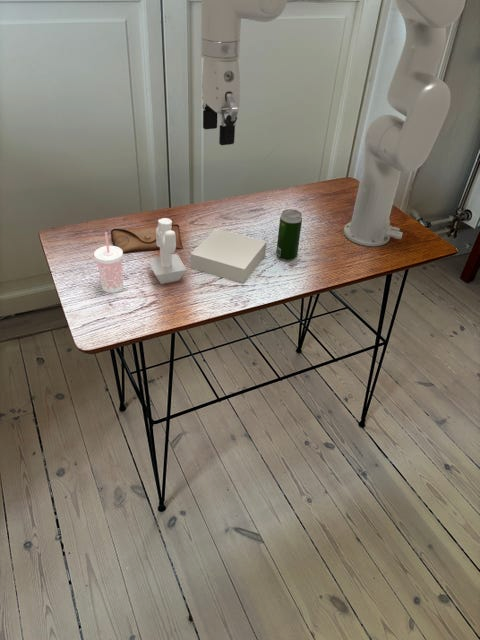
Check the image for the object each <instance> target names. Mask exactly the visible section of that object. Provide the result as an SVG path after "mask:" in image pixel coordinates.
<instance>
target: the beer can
mask: <svg viewBox="0 0 480 640" xmlns="http://www.w3.org/2000/svg"><path fill="white" fill-rule="evenodd" d="M302 223H303V214H302V212H301V211H299V210H297V209H292V208H288V209H283V210H282V211H281V215H280V216H279V225H278V231H277V232H278V233H277V241H276V243H277V244H276V257H277V259H278V260H280V261H282V262H286V263H287V262H293V261H295V260H296V258H297V257H298V254H299V253H298V251H299V244H300V238H301V231H302V226H303V225H302Z"/></svg>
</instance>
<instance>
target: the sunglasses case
mask: <svg viewBox="0 0 480 640" xmlns="http://www.w3.org/2000/svg"><path fill="white" fill-rule="evenodd" d="M157 227H158V225H155V226H154V225H152V226H141V227H130V228H129V227H128V228H113V229H111V230H110V239H111V243H112V242H113V243H112V246H117V247H119V248H121V249H122V250H123V255H124V254H125V255H126V254H131V253H132V254H133V253H142V252H153V251H160V247H158V246H157V244H156V229H157ZM171 230H172V231H174V232H175V235H176V249H175V250H183V249H184V246H183V244H182V238H181V235H180V233H181V232H180V224H177V223H175V224H173V223H172V228H171Z"/></svg>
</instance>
